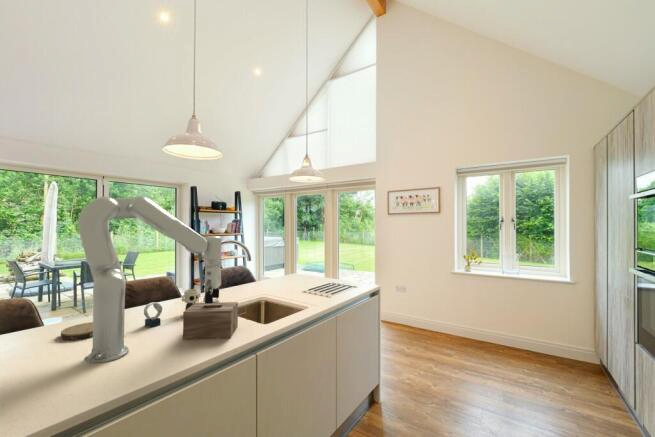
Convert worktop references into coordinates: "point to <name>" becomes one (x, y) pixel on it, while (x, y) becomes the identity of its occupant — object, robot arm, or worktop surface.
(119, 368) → the worktop surface
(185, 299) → the character mug
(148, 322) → the watch
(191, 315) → the coin box
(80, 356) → the worktop surface
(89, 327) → the round wooden board
